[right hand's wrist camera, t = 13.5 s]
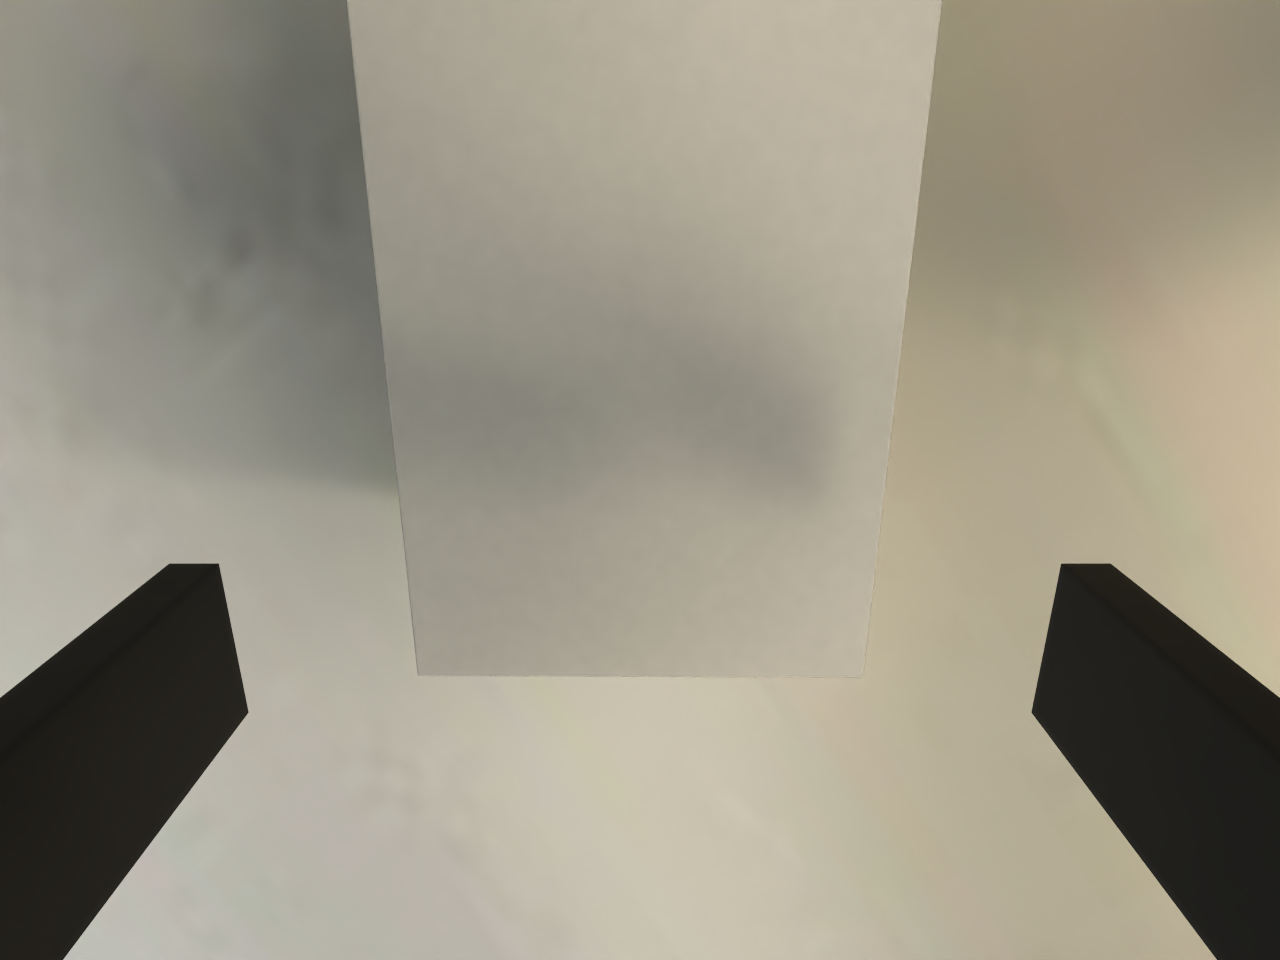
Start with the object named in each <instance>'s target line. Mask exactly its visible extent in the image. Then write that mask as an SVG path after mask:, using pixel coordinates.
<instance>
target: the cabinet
mask: <svg viewBox="0 0 1280 960" xmlns="http://www.w3.org/2000/svg"><path fill="white" fill-rule="evenodd" d="M346 1H347V10H348V20H349V29H350V39H351V48H352V57H353V67H354V76H355V86H356V95H357V105H358V114H359V124H360V133H361V143H362V152H363V162H364V171H365V181H366V190H367V199H368V209H369V218H370V228H371V237H372V247H373V256H374V266H375V275H376V285H377V294H378V304H379V313H380V322H381V332H382V341H383V351H384V360H385V370H386V379H387V389H388V398H389V408H390V417H391V427H392V436H393V446H394V455H395V464H396V474H397V483H398V493H399V502H400V512H401V521H402V531H403V540H404V550H405V559H406V569H407V578H408V588H409V597H410V606H411V616H412V625H413V635H414V644H415V654H416V663H417V673H418V675H419V676H548V677H795V678H862V677H863V673H864V664H865V656H866V647H867V639H868V630H869V622H870V613H871V604H872V596H873V587H874V579H875V570H876V562H877V553H878V545H879V536H880V528H881V519H882V510H883V502H884V493H885V485H886V476H887V468H888V459H889V451H890V442H891V434H892V425H893V416H894V408H895V399H896V391H897V382H898V374H899V365H900V357H901V348H902V340H903V331H904V323H905V314H906V305H907V297H908V288H909V280H910V271H911V263H912V254H913V246H914V237H915V229H916V220H917V211H918V203H919V194H920V186H921V177H922V169H923V160H924V152H925V143H926V135H927V126H928V117H929V109H930V100H931V92H932V83H933V75H934V66H935V58H936V49H937V41H938V32H939V23H940V15H941V6H942V0H346Z"/></svg>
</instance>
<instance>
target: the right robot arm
mask: <svg viewBox="0 0 1280 960" xmlns="http://www.w3.org/2000/svg"><path fill="white" fill-rule="evenodd" d="M247 714H248V708H247V703H246V698H245V693H244V688H243V683H242V678H241V673H240V668H239V663H238V658H237V653H236V648H235V643H234V638H233V633H232V628H231V623H230V618H229V613H228V608H227V603H226V598H225V593H224V588H223V583H222V578H221V573H220V568H219V564H169V565H167V566H166V567H165V568H163V569H162V570H161V571H160V572H158V573H157V574H156V575H155V576H153V577H152V578H151V579H150V580H148V581H147V582H146V583H145V584H143V585H142V586H141V587H140V588H138V589H137V590H136V591H134V592H133V593H132V594H131V595H129V596H128V597H127V598H126V599H124V600H123V601H122V602H121V603H119V604H118V605H117V606H116V607H114V608H113V609H112V610H111V611H109V612H108V613H107V614H105V615H104V616H103V617H102V618H100V619H99V620H98V621H97V622H95V623H94V624H93V625H92V626H90V627H89V628H88V629H87V630H85V631H84V632H83V633H82V634H80V635H79V636H78V637H76V638H75V639H74V640H73V641H71V642H70V643H69V644H68V645H66V646H65V647H64V648H63V649H61V650H60V651H59V652H58V653H56V654H55V655H54V656H53V657H51V658H50V659H49V660H47V661H46V662H45V663H44V664H42V665H41V666H40V667H39V668H37V669H36V670H35V671H34V672H32V673H31V674H30V675H29V676H27V677H26V678H25V679H24V680H22V681H21V682H20V683H18V684H17V685H16V686H15V687H13V688H12V689H11V690H10V691H8V692H7V693H6V694H5V695H3V696H2V697H1V698H0V960H63V959H64V958H65V956H66V955H67V954H68V952H69V951H70V950H71V948H72V947H73V946H74V944H75V943H76V942H77V940H78V939H79V938H80V936H81V935H82V934H83V932H84V931H85V930H86V928H87V927H88V926H89V924H90V923H91V922H92V920H93V919H94V918H95V916H96V915H97V914H98V912H99V911H100V910H101V908H102V907H103V906H104V904H105V903H106V902H107V900H108V899H109V898H110V896H111V895H112V894H113V892H114V891H115V890H116V888H117V887H118V886H119V884H120V883H121V882H122V880H123V879H124V878H125V876H126V875H127V874H128V872H129V871H130V870H131V868H132V867H133V866H134V864H135V863H136V862H137V860H138V859H139V858H140V856H141V855H142V854H143V852H144V851H145V850H146V848H147V847H148V846H149V844H150V843H151V842H152V840H153V839H154V838H155V836H156V835H157V834H158V832H159V831H160V830H161V828H162V827H163V826H164V824H165V823H166V822H167V820H168V819H169V818H170V816H171V815H172V814H173V812H174V811H175V810H176V808H177V807H178V806H179V804H180V803H181V802H182V800H183V799H184V798H185V796H186V795H187V794H188V792H189V791H190V790H191V788H192V787H193V786H194V784H195V783H196V782H197V780H198V779H199V778H200V776H201V775H202V774H203V772H204V771H205V770H206V768H207V767H208V766H209V764H210V763H211V762H212V760H213V759H214V758H215V756H216V755H217V754H218V752H219V751H220V750H221V748H222V747H223V746H224V744H225V743H226V742H227V740H228V739H229V738H230V736H231V735H232V734H233V732H234V731H235V730H236V728H237V727H238V726H239V724H240V723H241V722H242V720H243V719H244V718H245V716H246V715H247ZM1032 714H1033V715H1034V716H1035V718H1036V719H1037V720H1038V722H1039V723H1040V724H1041V726H1042V727H1043V728H1044V730H1045V731H1046V732H1047V734H1048V735H1049V736H1050V738H1051V739H1052V740H1053V742H1054V743H1055V744H1056V746H1057V747H1058V748H1059V750H1060V751H1061V752H1062V754H1063V755H1064V756H1065V758H1066V759H1067V760H1068V762H1069V763H1070V764H1071V766H1072V767H1073V768H1074V770H1075V771H1076V772H1077V774H1078V775H1079V776H1080V778H1081V779H1082V780H1083V782H1084V783H1085V784H1086V786H1087V787H1088V788H1089V790H1090V791H1091V792H1092V794H1093V795H1094V796H1095V798H1096V799H1097V800H1098V802H1099V803H1100V804H1101V806H1102V807H1103V808H1104V810H1105V811H1106V812H1107V814H1108V815H1109V816H1110V818H1111V819H1112V820H1113V822H1114V823H1115V824H1116V826H1117V827H1118V828H1119V830H1120V831H1121V832H1122V834H1123V835H1124V836H1125V838H1126V839H1127V840H1128V842H1129V843H1130V844H1131V846H1132V847H1133V848H1134V850H1135V851H1136V852H1137V854H1138V855H1139V856H1140V858H1141V859H1142V860H1143V862H1144V863H1145V864H1146V866H1147V867H1148V868H1149V870H1150V871H1151V872H1152V874H1153V875H1154V876H1155V878H1156V879H1157V880H1158V882H1159V883H1160V884H1161V886H1162V887H1163V888H1164V890H1165V891H1166V892H1167V894H1168V895H1169V896H1170V898H1171V899H1172V900H1173V902H1174V903H1175V904H1176V906H1177V907H1178V908H1179V910H1180V911H1181V912H1182V914H1183V915H1184V916H1185V918H1186V919H1187V920H1188V922H1189V923H1190V924H1191V926H1192V927H1193V928H1194V930H1195V931H1196V932H1197V934H1198V935H1199V936H1200V938H1201V939H1202V940H1203V942H1204V943H1205V944H1206V946H1207V947H1208V948H1209V950H1210V951H1211V952H1212V954H1213V955H1214V956H1215V958H1216V959H1217V960H1280V698H1279V697H1278V696H1277V695H1275V694H1274V693H1273V692H1272V691H1270V690H1269V689H1268V688H1267V687H1265V686H1264V685H1263V684H1261V683H1260V682H1259V681H1258V680H1256V679H1255V678H1254V677H1253V676H1251V675H1250V674H1249V673H1248V672H1246V671H1245V670H1244V669H1243V668H1241V667H1240V666H1239V665H1238V664H1236V663H1235V662H1234V661H1233V660H1231V659H1230V658H1229V657H1227V656H1226V655H1225V654H1224V653H1222V652H1221V651H1220V650H1219V649H1217V648H1216V647H1215V646H1214V645H1212V644H1211V643H1210V642H1209V641H1207V640H1206V639H1205V638H1204V637H1202V636H1201V635H1200V634H1198V633H1197V632H1196V631H1195V630H1193V629H1192V628H1191V627H1190V626H1188V625H1187V624H1186V623H1185V622H1183V621H1182V620H1181V619H1180V618H1178V617H1177V616H1176V615H1175V614H1173V613H1172V612H1171V611H1169V610H1168V609H1167V608H1166V607H1164V606H1163V605H1162V604H1161V603H1159V602H1158V601H1157V600H1156V599H1154V598H1153V597H1152V596H1151V595H1149V594H1148V593H1147V592H1146V591H1144V590H1143V589H1142V588H1140V587H1139V586H1138V585H1137V584H1135V583H1134V582H1133V581H1132V580H1130V579H1129V578H1128V577H1127V576H1125V575H1124V574H1123V573H1122V572H1120V571H1119V570H1118V569H1117V568H1115V567H1114V566H1113V565H1111V564H1061V568H1060V573H1059V578H1058V583H1057V588H1056V593H1055V598H1054V603H1053V608H1052V613H1051V618H1050V623H1049V628H1048V633H1047V638H1046V643H1045V648H1044V653H1043V658H1042V663H1041V668H1040V673H1039V678H1038V683H1037V688H1036V693H1035V698H1034V703H1033V708H1032Z"/></svg>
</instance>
